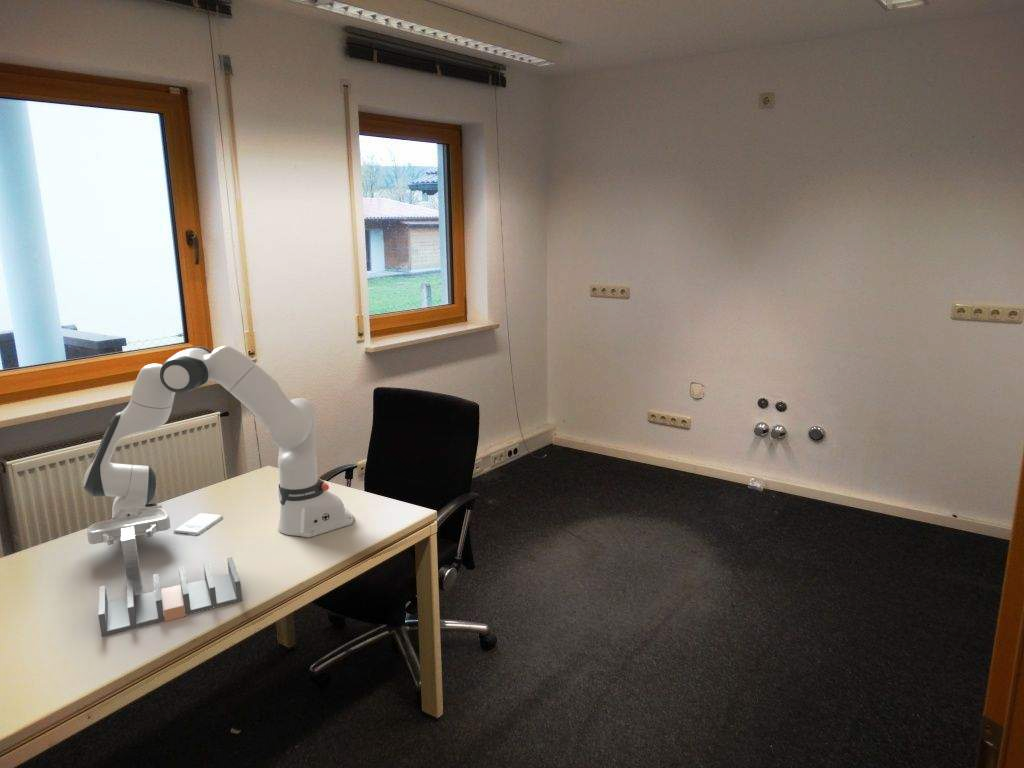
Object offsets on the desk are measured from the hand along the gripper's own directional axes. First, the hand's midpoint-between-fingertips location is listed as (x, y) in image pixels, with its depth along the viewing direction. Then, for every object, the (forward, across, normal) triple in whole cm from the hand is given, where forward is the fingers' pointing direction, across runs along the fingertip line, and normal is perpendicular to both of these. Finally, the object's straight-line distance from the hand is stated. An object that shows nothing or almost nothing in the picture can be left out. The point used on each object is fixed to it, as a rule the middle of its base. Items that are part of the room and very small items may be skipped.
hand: (130, 538), depth 185 cm
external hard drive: (-18, +18, +9) cm, 27 cm away
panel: (+11, 0, +8) cm, 13 cm away
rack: (+27, +8, +8) cm, 29 cm away
